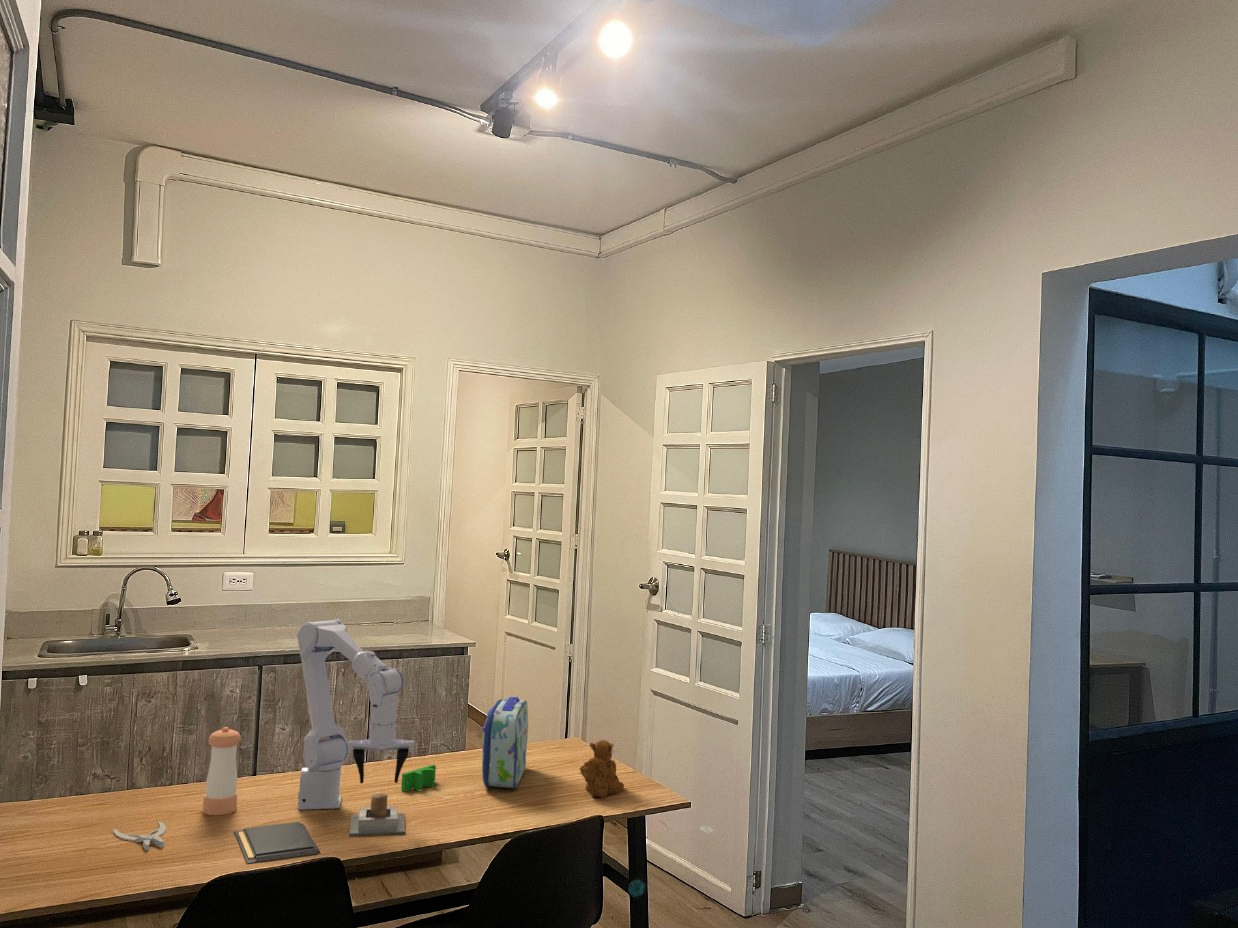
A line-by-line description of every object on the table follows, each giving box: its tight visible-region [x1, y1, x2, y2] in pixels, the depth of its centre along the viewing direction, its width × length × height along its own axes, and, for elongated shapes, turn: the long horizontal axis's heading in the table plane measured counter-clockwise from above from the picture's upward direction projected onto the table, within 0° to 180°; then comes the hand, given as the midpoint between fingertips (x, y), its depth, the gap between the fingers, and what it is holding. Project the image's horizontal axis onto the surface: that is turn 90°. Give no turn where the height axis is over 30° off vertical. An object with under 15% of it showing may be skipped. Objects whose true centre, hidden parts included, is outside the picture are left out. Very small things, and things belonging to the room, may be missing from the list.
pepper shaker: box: [202, 726, 242, 816], centre depth 211 cm, size 7×7×19 cm
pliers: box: [113, 821, 167, 852], centre depth 192 cm, size 10×2×15 cm
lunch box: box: [481, 696, 529, 789], centre depth 246 cm, size 26×11×21 cm, turn 179°
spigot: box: [370, 793, 388, 818], centre depth 206 cm, size 4×4×6 cm
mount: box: [348, 806, 406, 837], centre depth 206 cm, size 12×12×3 cm
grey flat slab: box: [233, 821, 322, 865], centre depth 193 cm, size 20×2×15 cm
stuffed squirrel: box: [578, 739, 625, 799], centre depth 238 cm, size 10×14×13 cm
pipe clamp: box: [400, 764, 437, 792], centre depth 235 cm, size 11×4×5 cm, turn 148°
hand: (379, 781), depth 208 cm, fingers open, 7 cm apart
